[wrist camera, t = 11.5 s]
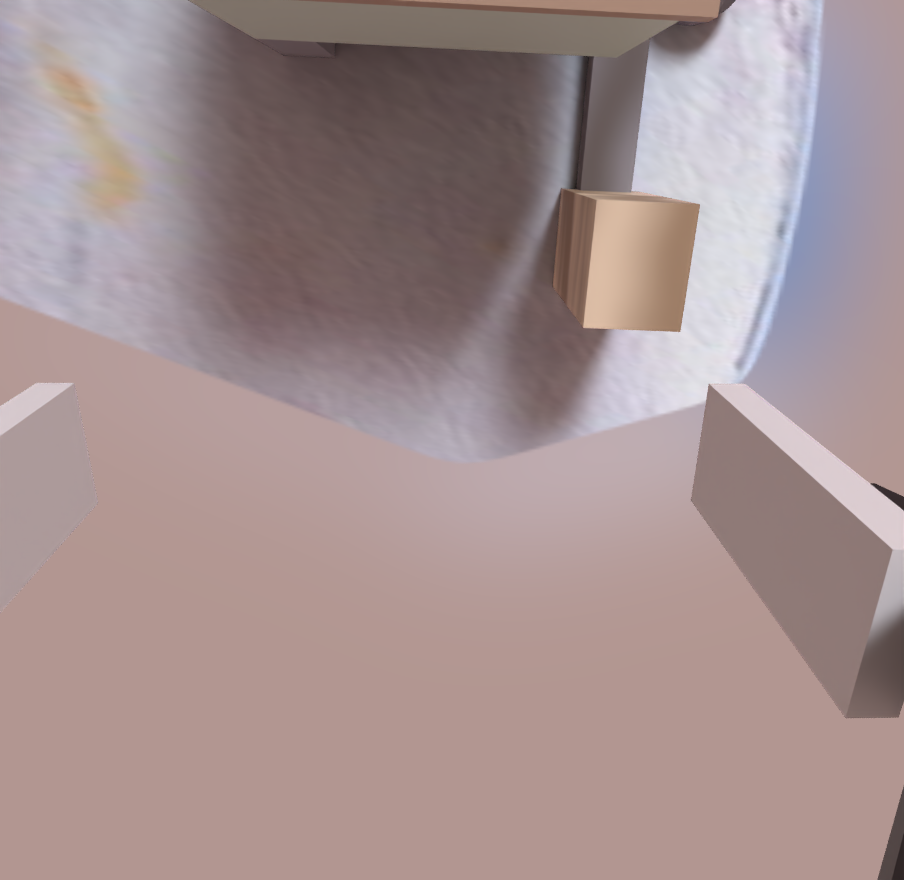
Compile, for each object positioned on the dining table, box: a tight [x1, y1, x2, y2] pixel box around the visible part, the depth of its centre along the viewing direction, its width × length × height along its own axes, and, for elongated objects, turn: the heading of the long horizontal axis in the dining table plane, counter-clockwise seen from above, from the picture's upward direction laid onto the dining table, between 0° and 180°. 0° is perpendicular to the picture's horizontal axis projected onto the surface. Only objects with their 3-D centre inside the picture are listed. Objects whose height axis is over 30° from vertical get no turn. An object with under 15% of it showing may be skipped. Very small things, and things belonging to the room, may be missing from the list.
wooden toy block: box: [553, 38, 700, 332], centre depth 31 cm, size 4×21×10 cm, turn 178°
